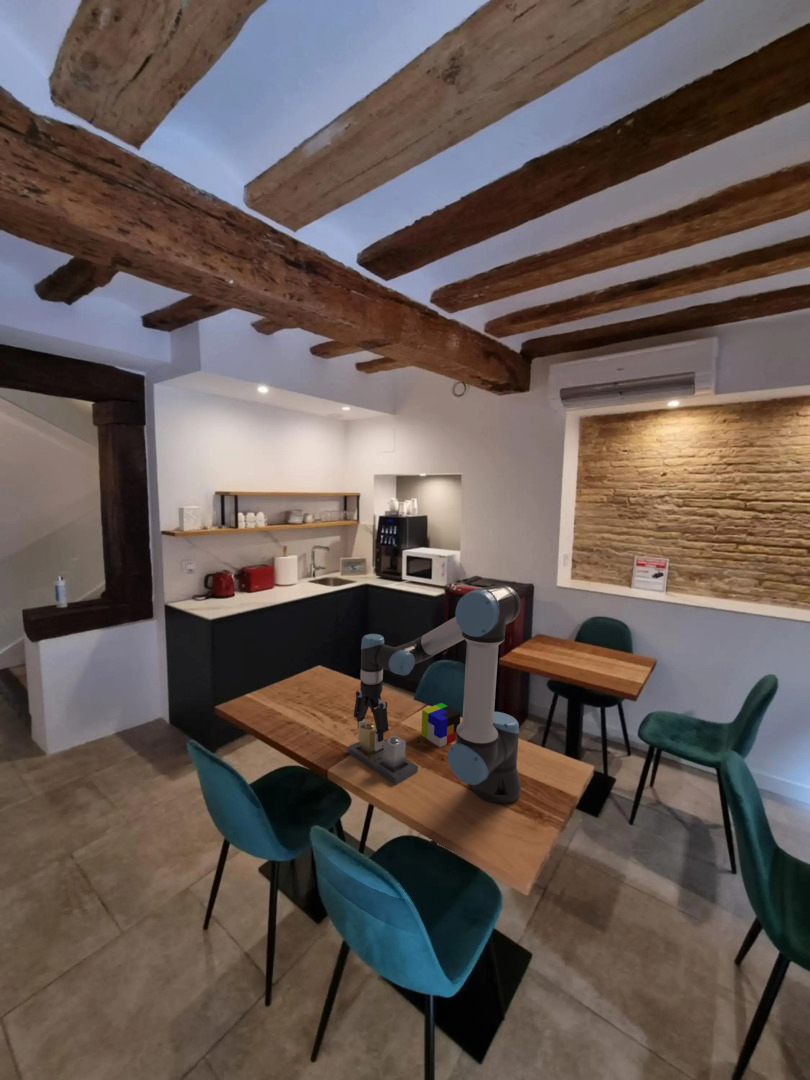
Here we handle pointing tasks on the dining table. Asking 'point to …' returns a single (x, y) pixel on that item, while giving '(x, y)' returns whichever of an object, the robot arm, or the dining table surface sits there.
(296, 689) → the dining table surface
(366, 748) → the tan block with knob
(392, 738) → the silver block with knob
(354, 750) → the grey flat plate
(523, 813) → the dining table surface
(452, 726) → the puzzle toy
